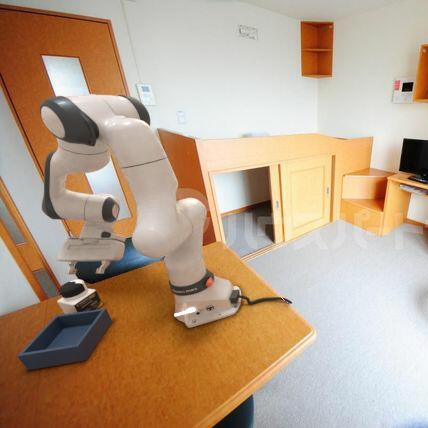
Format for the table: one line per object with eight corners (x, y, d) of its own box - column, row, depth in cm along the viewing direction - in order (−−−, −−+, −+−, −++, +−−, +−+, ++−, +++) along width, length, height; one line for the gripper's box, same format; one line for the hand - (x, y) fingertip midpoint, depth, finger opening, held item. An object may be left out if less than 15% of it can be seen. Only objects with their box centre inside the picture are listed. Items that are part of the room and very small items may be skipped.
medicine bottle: (82, 320, 80) (66, 293, 75) (65, 316, 81) (49, 289, 76) (103, 304, 86) (90, 278, 81) (87, 301, 88) (74, 275, 82)
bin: (112, 321, 80) (105, 308, 77) (86, 360, 68) (77, 346, 65) (64, 328, 77) (55, 315, 75) (28, 370, 65) (16, 356, 63)
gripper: (58, 234, 85) (45, 273, 80) (118, 233, 86) (108, 272, 82) (74, 238, 91) (62, 275, 86) (130, 237, 92) (121, 274, 88)
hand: (85, 274), depth 84 cm, fingers open, 8 cm apart
